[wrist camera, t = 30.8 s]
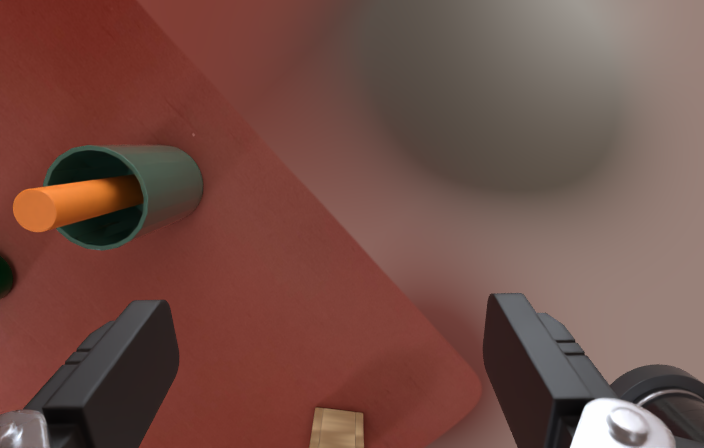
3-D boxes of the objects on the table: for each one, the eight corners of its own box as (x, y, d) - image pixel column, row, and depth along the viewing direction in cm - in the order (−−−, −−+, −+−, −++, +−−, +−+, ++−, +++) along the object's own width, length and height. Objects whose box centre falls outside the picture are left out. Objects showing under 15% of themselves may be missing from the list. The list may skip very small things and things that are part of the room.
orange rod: (166, 202, 40) (43, 240, 24) (143, 187, 40) (4, 215, 24) (179, 180, 40) (64, 205, 24) (157, 165, 40) (24, 179, 24)
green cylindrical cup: (206, 150, 40) (150, 153, 29) (200, 226, 41) (145, 256, 30) (128, 140, 40) (42, 139, 29) (125, 216, 41) (42, 243, 30)
